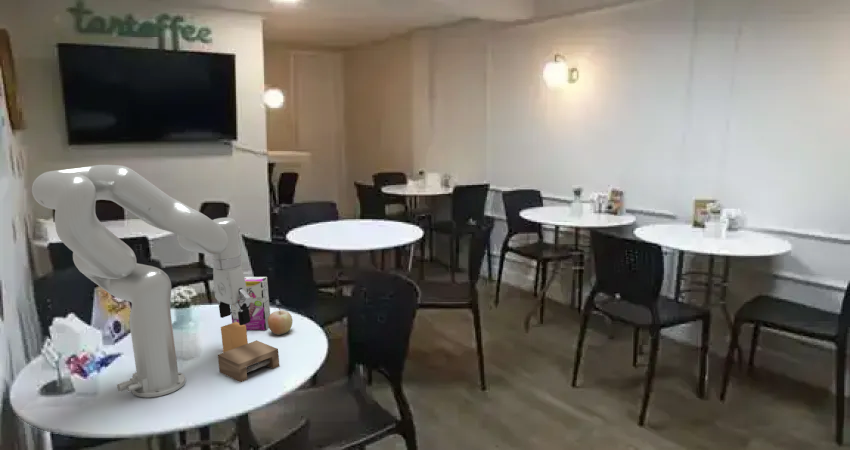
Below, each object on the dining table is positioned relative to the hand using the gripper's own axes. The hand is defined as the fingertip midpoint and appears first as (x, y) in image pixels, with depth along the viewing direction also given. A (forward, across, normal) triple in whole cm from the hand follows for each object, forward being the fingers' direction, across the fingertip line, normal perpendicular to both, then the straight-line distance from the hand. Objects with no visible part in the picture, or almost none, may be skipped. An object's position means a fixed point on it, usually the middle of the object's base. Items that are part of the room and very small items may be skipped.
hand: (235, 319), depth 174 cm
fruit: (+10, -2, +16) cm, 19 cm away
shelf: (+9, +13, -5) cm, 17 cm away
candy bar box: (+10, -13, +13) cm, 21 cm away
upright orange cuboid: (+10, 0, -1) cm, 10 cm away
